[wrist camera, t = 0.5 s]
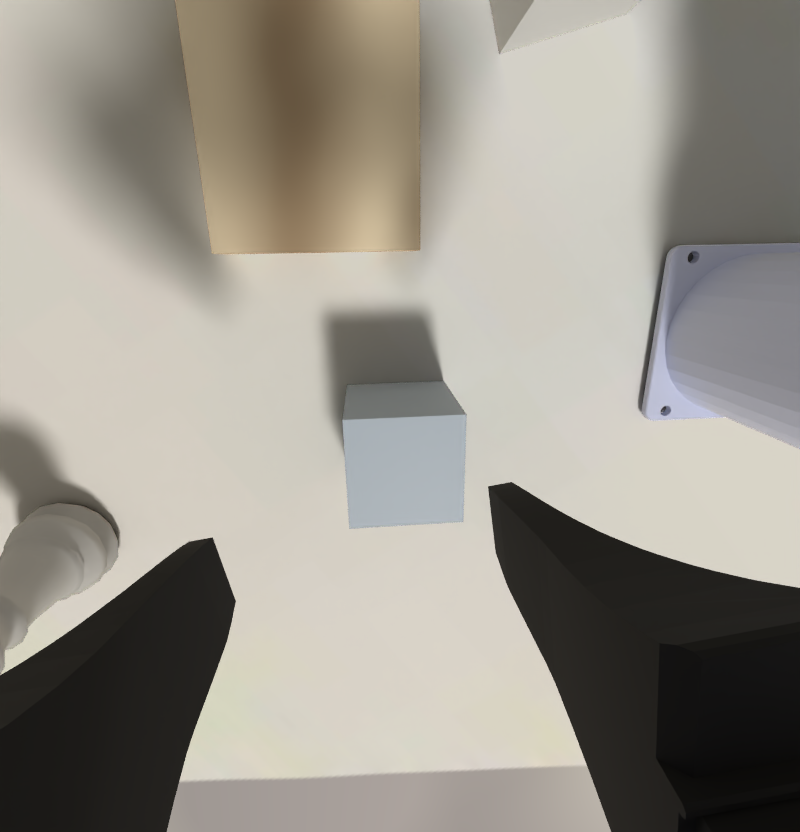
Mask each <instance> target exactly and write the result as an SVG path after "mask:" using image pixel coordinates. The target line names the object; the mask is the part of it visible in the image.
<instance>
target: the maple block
mask: <svg viewBox="0 0 800 832" xmlns="http://www.w3.org/2000/svg"><path fill="white" fill-rule="evenodd" d="M175 5H176V11H177V18H178V25H179V32H180V39H181V46H182V53H183V59H184V66H185V73H186V80H187V87H188V94H189V100H190V107H191V114H192V121H193V128H194V135H195V142H196V148H197V155H198V162H199V169H200V176H201V183H202V189H203V196H204V203H205V210H206V217H207V224H208V231H209V237H210V244H211V251H212V254H269V253H326V252H382V251H418V250H420V18H419V0H175Z"/></svg>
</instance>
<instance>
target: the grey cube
mask: <svg viewBox="0 0 800 832" xmlns="http://www.w3.org/2000/svg"><path fill="white" fill-rule="evenodd" d="M640 1H641V0H490V5H491V10H492V16H493V22H494V28H495V33H496V39H497V45H498V50H499V54H502V53H505V52H509V51H512V50H515V49H518V48H521V47H524V46H528V45H531V44H534V43H537V42H540V41H543V40H547V39H550V38H553V37H556V36H559V35H562V34H566V33H569V32H572V31H575V30H578V29H582V28H585V27H588V26H591V25H594V24H597V23H601V22H604V21H607V20H610V19H613V18H616V17H620V16H623V15H626V14H627V13H628V12H630V11H631V10H632V9H633V8H634V7H635V6H636V5H637V4H638V3H639V2H640Z"/></svg>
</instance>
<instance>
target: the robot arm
mask: <svg viewBox="0 0 800 832" xmlns="http://www.w3.org/2000/svg"><path fill="white" fill-rule="evenodd" d="M691 252H692V253H693V259H692V261H691V262H690V263H689V262H688V255H689V254H690V253H691ZM664 406H666V409H665V411H664V412H663V413H661V412H660V411H661V409H662V408H663V407H664ZM642 414H643V416H644V417H645V418H647V419H649V420H652V421H658V420H679V419H701V418H723V417H726V418H728V419H730V420H733V421H735V422H737V423H740V424H742V425H744V426H747V427H749V428H751V429H754V430H756V431H758V432H761V433H763V434H766V435H768V436H770V437H773V438H775V439H777V440H780V441H782V442H784V443H787V444H789V445H791V446H794V447H796V448H798V449H800V243H768V244H716V245H679V246H675V247H673V248H672V249H671V250H670V251H669V252H668V254H667V257H666V263H665V269H664V275H663V281H662V287H661V294H660V300H659V306H658V312H657V318H656V324H655V331H654V337H653V343H652V349H651V355H650V361H649V367H648V374H647V380H646V386H645V392H644V398H643V404H642ZM488 489H489V498H490V507H491V515H492V524H493V532H494V541H495V550H496V554H497V557H498V560H499V563H500V566H501V569H502V572H503V575H504V577H505V580H506V583H507V585H508V588H509V590H510V592H511V594H512V596H513V598H514V600H515V602H516V604H517V606H518V608H519V610H520V612H521V614H522V616H523V618H524V620H525V622H526V624H527V626H528V628H529V630H530V632H531V634H532V636H533V638H534V640H535V642H536V644H537V646H538V648H539V650H540V652H541V654H542V656H543V658H544V660H545V662H546V664H547V666H548V668H549V670H550V672H551V674H552V677H553V679H554V681H555V683H556V686H557V688H558V691H559V693H560V696H561V698H562V701H563V704H564V706H565V709H566V711H567V714H568V716H569V719H570V722H571V724H572V727H573V729H574V732H575V735H576V737H577V740H578V743H579V745H580V748H581V750H582V753H583V756H584V758H585V761H586V764H587V766H588V769H589V772H590V774H591V777H592V779H593V783H594V785H595V788H596V791H597V793H598V796H599V799H600V802H601V804H602V807H603V810H604V812H605V816H606V818H607V821H608V824H609V827H610V829H611V832H800V588H796V587H790V586H785V585H779V584H773V583H767V582H761V581H756V580H751V579H747V578H742V577H738V576H734V575H729V574H725V573H721V572H716V571H712V570H708V569H705V568H701V567H697V566H693V565H690V564H686V563H683V562H680V561H677V560H673V559H670V558H667V557H664V556H660V555H657V554H654V553H652V552H649V551H646V550H643V549H640V548H638V547H635V546H633V545H630V544H628V543H625V542H623V541H620V540H618V539H615V538H613V537H610V536H608V535H606V534H604V533H601V532H599V531H597V530H595V529H593V528H591V527H589V526H587V525H585V524H583V523H581V522H579V521H577V520H575V519H573V518H571V517H569V516H568V515H566V514H564V513H562V512H560V511H559V510H557V509H555V508H553V507H552V506H550V505H548V504H547V503H545V502H543V501H542V500H540V499H538V498H537V497H535V496H533V495H532V494H530V493H529V492H527V491H525V490H524V489H522V488H520V487H519V486H517V485H515V484H514V483H512V482H510V483H505V484H499V485H494V486H489V487H488ZM235 602H236V601H235V598H234V595H233V593H232V590H231V587H230V584H229V582H228V579H227V576H226V573H225V571H224V568H223V565H222V562H221V560H220V557H219V554H218V551H217V549H216V546H215V543H214V540H213V538H207V539H202V540H197V541H191V542H188V543H187V544H185V545H183V546H182V547H180V548H179V549H177V550H176V551H175V552H173V553H172V554H171V555H169V556H168V557H167V558H165V559H164V560H163V561H161V562H160V563H159V564H158V565H156V566H155V567H154V568H153V569H151V570H150V571H149V572H147V573H146V574H145V575H144V576H142V577H141V578H140V579H139V580H137V581H136V582H135V583H133V584H132V585H131V586H130V587H128V588H127V589H126V590H125V591H123V592H122V593H121V594H119V595H118V596H117V597H116V598H114V599H113V600H111V601H110V602H109V603H107V604H106V605H105V606H103V607H102V608H101V609H99V610H98V611H97V612H95V613H94V614H93V615H91V616H90V617H89V618H87V619H86V620H85V621H83V622H82V623H81V624H79V625H78V626H76V627H75V628H74V629H72V630H71V631H69V632H68V633H66V634H65V635H63V636H62V637H60V638H59V639H58V640H56V641H55V642H53V643H52V644H50V645H49V646H47V647H45V648H44V649H42V650H41V651H39V652H38V653H36V654H35V655H33V656H31V657H30V658H28V659H27V660H25V661H24V662H22V663H20V664H19V665H17V666H16V667H14V668H12V669H10V670H9V671H7V672H5V673H4V674H2V675H0V832H167V828H168V823H169V819H170V815H171V810H172V807H173V802H174V798H175V795H176V791H177V787H178V784H179V780H180V776H181V772H182V769H183V765H184V761H185V757H186V754H187V751H188V747H189V744H190V741H191V738H192V735H193V732H194V729H195V727H196V724H197V721H198V719H199V716H200V713H201V710H202V708H203V705H204V702H205V700H206V697H207V694H208V692H209V689H210V686H211V683H212V681H213V678H214V675H215V673H216V670H217V667H218V664H219V662H220V659H221V656H222V653H223V650H224V648H225V645H226V642H227V639H228V635H229V630H230V626H231V622H232V617H233V612H234V607H235Z"/></svg>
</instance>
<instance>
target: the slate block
mask: <svg viewBox="0 0 800 832" xmlns="http://www.w3.org/2000/svg"><path fill="white" fill-rule="evenodd" d="M342 423H343V438H344V453H345V469H346V484H347V499H348V514H349V529H353V528H369V527H386V526H403V525H419V524H436V523H453V522H463V515H464V481H465V447H466V413H465V412H464V410H463V409H462V407H461V406H460V404H459V403H458V401H457V400H456V398H455V397H454V395H453V394H452V392H451V391H450V390H449V388H448V387H447V385H446V384H445V382H444V381H429V382H403V383H378V384H352V385H347V390H346V397H345V404H344V411H343V419H342Z"/></svg>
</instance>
